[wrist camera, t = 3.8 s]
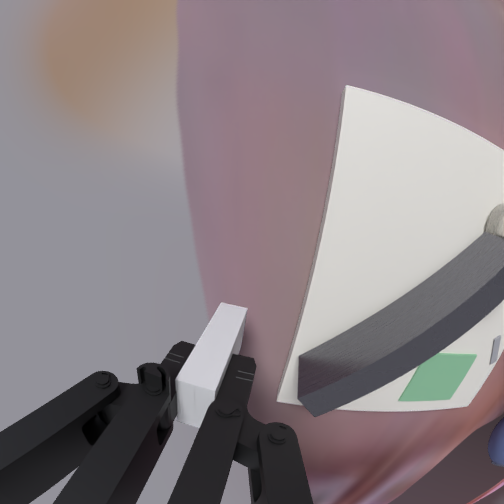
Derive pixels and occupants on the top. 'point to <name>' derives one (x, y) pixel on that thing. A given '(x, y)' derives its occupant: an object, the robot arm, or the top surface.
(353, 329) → the ball-tipped lever
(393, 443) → the top surface
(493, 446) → the seal
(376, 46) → the top surface
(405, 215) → the dial board
